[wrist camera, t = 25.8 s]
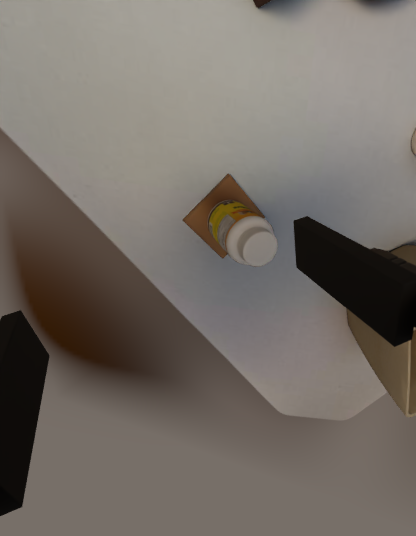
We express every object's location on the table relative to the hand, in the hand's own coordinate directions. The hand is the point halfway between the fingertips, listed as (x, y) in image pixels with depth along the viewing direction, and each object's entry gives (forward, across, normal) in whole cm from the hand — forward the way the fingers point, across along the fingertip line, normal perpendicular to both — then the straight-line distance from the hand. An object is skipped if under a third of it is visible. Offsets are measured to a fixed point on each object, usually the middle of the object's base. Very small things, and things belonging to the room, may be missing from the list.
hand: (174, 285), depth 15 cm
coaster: (+25, -10, +8) cm, 28 cm away
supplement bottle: (+24, -10, +8) cm, 28 cm away
